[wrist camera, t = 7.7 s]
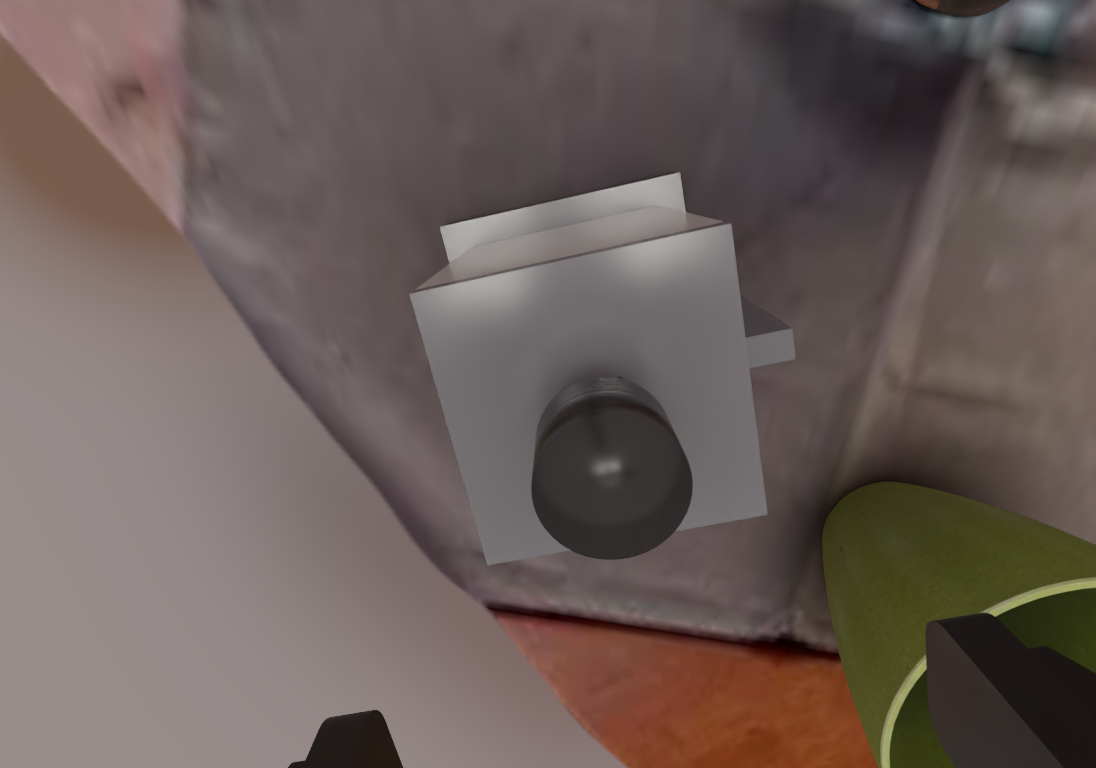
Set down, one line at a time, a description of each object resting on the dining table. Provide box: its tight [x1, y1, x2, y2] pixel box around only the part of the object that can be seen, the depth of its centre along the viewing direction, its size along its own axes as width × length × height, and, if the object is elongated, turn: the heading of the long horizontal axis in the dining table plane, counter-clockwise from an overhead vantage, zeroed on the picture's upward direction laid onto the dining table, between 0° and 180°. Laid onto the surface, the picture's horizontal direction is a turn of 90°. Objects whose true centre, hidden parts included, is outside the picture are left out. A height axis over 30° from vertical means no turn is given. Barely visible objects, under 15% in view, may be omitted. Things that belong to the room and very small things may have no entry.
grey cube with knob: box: [410, 172, 795, 565], centre depth 29 cm, size 13×14×16 cm
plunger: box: [531, 377, 693, 559], centre depth 24 cm, size 8×8×19 cm
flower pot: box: [822, 481, 1096, 768], centre depth 33 cm, size 15×15×16 cm
